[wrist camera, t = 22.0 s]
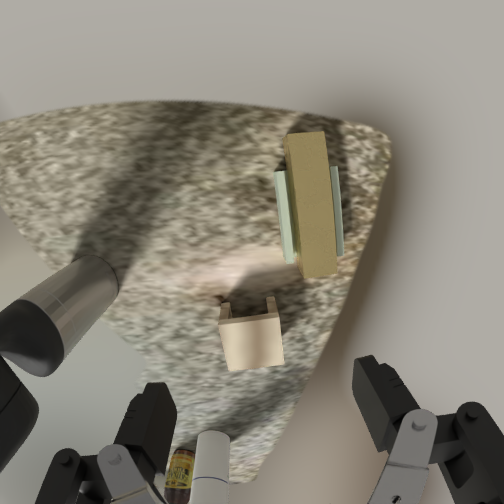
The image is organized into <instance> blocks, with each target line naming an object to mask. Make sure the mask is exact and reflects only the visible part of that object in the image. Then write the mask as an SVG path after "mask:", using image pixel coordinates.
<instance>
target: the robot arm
mask: <svg viewBox="0 0 504 504" xmlns="http://www.w3.org/2000/svg"><path fill="white" fill-rule="evenodd" d="M117 293H118V283H117V278H116V276H115V273H114V272H113V270H112V268H111V267H110V266H109V265H108V264H107V263H106V262H105V261H104V260H103V259H101V258H99V257H97V256H93V255H86V256H83V257H81V258H79V259H77V260H76V261H74V262H73V263H71V264H69V265H68V266H66V267H64V268H63V269H61V270H60V271H58V272H57V273H55V274H54V275H52V276H50V277H49V278H47V279H46V280H45V281H43V282H42V283H40V284H38V285H37V286H36V287H34V288H33V289H31V290H30V291H28V292H27V293H26V294H24V295H23V296H21V297H20V298H19V299H17V300H16V301H14V302H13V303H11V304H10V305H9V306H7V307H6V308H5V309H4V310H2V311H1V312H0V472H2V470H3V469H4V468H5V466H6V465H7V464H8V462H9V461H10V460H11V458H12V457H13V456H14V455H15V453H16V452H17V451H18V449H19V448H20V447H21V445H22V444H23V443H24V441H25V440H26V439H27V437H28V435H29V434H30V433H31V431H32V429H33V427H34V425H35V423H36V421H37V418H38V414H39V407H38V403H37V401H36V400H35V398H34V397H33V396H32V394H31V393H30V392H29V391H28V389H27V388H26V387H25V386H24V384H23V383H22V382H21V381H20V380H19V378H18V377H17V376H16V374H15V373H14V372H13V371H12V369H11V368H10V367H9V365H8V364H7V363H6V361H5V360H4V359H3V357H5V358H7V359H9V360H10V361H12V362H13V363H14V364H16V365H17V366H19V367H20V368H22V369H23V370H24V371H26V372H28V373H30V374H32V375H35V376H39V377H46V376H49V375H50V374H52V373H53V372H54V371H55V370H56V369H57V368H58V367H59V365H60V364H61V363H62V362H63V360H64V359H65V358H66V357H67V355H68V354H69V353H70V352H71V350H72V349H73V348H74V347H75V346H76V344H77V343H78V342H79V341H80V340H81V338H82V337H83V336H84V335H85V334H86V332H87V331H88V330H89V329H90V328H91V326H92V325H93V324H94V323H95V322H96V321H97V320H98V319H99V317H100V316H101V315H102V314H103V313H104V312H105V311H106V310H107V308H108V307H109V306H110V305H111V304H112V303H113V301H114V300H115V298H116V296H117ZM2 356H3V357H2ZM352 390H353V395H354V397H355V400H356V402H357V405H358V407H359V409H360V411H361V414H362V416H363V418H364V420H365V423H366V425H367V427H368V429H369V432H370V434H371V437H372V439H373V441H374V444H375V446H376V448H377V451H378V452H382V451H384V450H387V452H388V454H389V457H388V459H387V462H386V464H385V466H384V469H383V471H382V473H381V476H380V478H379V480H378V482H377V485H376V487H375V489H374V491H373V493H372V495H371V497H370V499H369V501H368V503H367V504H418V503H419V501H420V498H421V495H422V492H423V489H424V486H425V483H426V480H427V477H428V473H429V469H427V466H428V464H434V463H438V465H439V467H440V470H441V472H442V474H443V476H444V479H445V481H446V483H447V486H448V488H449V490H450V493H451V495H452V498H453V500H454V503H455V504H504V435H503V434H502V432H501V430H500V429H499V427H498V426H497V424H496V423H495V422H494V420H493V419H492V417H491V416H490V414H489V413H488V412H487V410H486V409H485V408H484V406H482V405H481V404H480V403H477V402H467V403H464V404H462V405H461V406H460V407H459V408H458V410H457V412H456V413H453V414H447V415H440V416H435V415H434V414H433V413H432V412H430V411H428V410H425V409H421V408H420V407H419V405H418V404H417V402H416V401H415V399H414V398H413V396H412V395H411V393H410V392H409V390H408V389H407V387H406V386H405V385H404V383H403V381H402V380H401V379H400V378H399V375H398V374H397V372H396V371H395V369H394V368H392V367H390V366H389V365H387V364H386V363H383V364H380V365H379V364H378V362H377V361H376V359H375V357H374V356H373V355H369V356H365V357H361V358H357V359H355V360H354V369H353V380H352ZM176 420H177V409H176V406H175V403H174V401H173V399H172V397H171V394H170V392H169V390H168V387H167V385H166V384H165V383H164V382H157V383H147V384H146V386H145V389H144V391H143V394H137V395H136V396H135V397H134V398H133V399H132V400H131V402H130V404H129V406H128V409H127V412H126V413H125V416H124V419H123V421H122V423H121V426H120V428H119V431H118V433H117V436H116V438H115V441H114V443H113V444H112V445H108V446H106V447H104V448H103V449H102V450H101V451H100V452H99V454H98V455H90V456H80V455H79V454H78V453H77V451H75V450H73V449H70V448H65V449H62V450H60V451H58V452H57V453H56V454H55V456H54V458H53V460H52V462H51V464H50V467H49V469H48V472H47V474H46V477H45V479H44V481H43V484H42V486H41V489H40V491H39V494H38V497H37V499H36V502H35V504H75V503H76V504H110V503H111V504H168V502H167V501H166V499H165V498H164V496H163V495H162V493H161V492H160V490H159V489H158V487H157V486H156V484H155V483H154V478H155V475H156V476H165V471H166V466H167V461H168V457H169V452H170V447H171V443H172V438H173V434H174V429H175V425H176ZM78 493H79V494H78ZM77 496H78V498H77ZM111 499H113V500H112V501H111ZM76 500H77V501H76Z"/></svg>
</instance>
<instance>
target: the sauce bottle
mask: <svg viewBox="0 0 504 504" xmlns="http://www.w3.org/2000/svg"><path fill="white" fill-rule="evenodd" d="M194 462H195V454H194V453H193V452H190V451H187V450H177V451H175V452H174V454H173V456H172V458H171V462H170V466H169V471H168V475H167V479H166V483H165V491H164V497H165V499H166V501H167V502H168V504H187V503H188V502H189V500H190V494H191V486H192V478H193V470H194Z"/></svg>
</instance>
